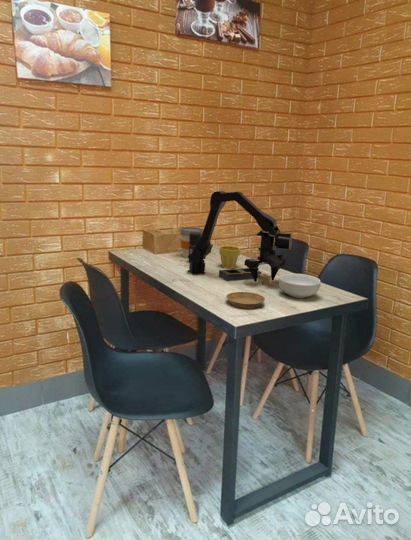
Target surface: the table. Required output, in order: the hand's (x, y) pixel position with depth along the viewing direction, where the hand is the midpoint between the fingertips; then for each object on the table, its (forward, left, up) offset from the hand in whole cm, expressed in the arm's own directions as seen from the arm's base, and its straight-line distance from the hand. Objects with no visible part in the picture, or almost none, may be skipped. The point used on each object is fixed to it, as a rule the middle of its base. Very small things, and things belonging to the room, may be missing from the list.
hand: (263, 281), depth 202 cm
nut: (0, 0, -1) cm, 1 cm away
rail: (-5, +12, -1) cm, 13 cm away
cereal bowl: (+4, -19, -1) cm, 19 cm away
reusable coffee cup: (-9, +56, -1) cm, 57 cm away
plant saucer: (-23, -21, -2) cm, 31 cm away
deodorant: (-13, +44, -1) cm, 46 cm away
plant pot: (0, +31, -1) cm, 31 cm away
